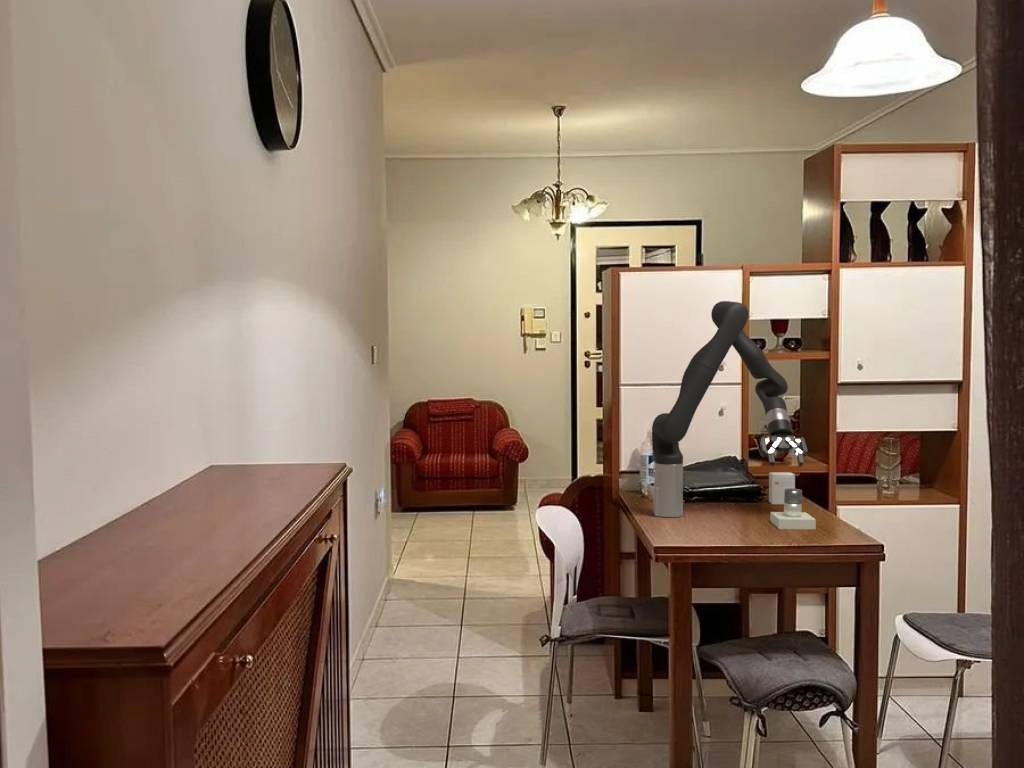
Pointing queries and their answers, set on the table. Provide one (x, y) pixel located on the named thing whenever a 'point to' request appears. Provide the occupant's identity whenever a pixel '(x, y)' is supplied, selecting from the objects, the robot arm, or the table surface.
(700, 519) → the table surface
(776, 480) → the small box
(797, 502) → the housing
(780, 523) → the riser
